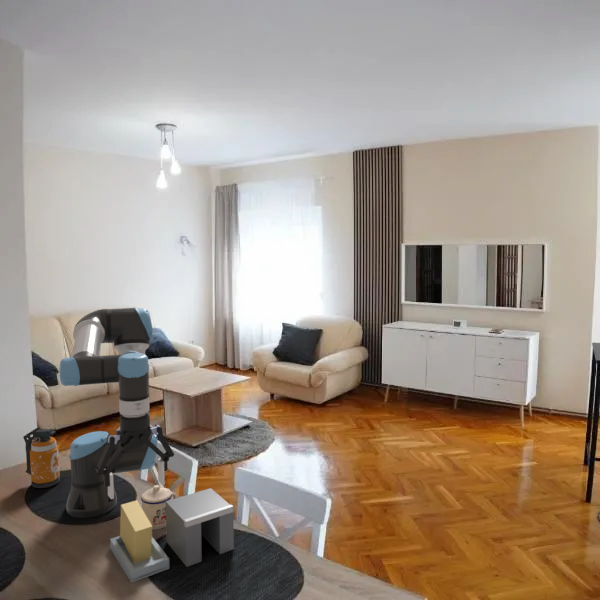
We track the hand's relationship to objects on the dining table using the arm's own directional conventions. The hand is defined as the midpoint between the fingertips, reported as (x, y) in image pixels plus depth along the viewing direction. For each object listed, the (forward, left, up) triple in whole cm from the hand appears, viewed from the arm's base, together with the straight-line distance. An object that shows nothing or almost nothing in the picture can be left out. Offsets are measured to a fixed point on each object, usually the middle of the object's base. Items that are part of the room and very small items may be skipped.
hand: (136, 489), depth 140 cm
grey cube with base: (+4, +16, -19) cm, 25 cm away
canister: (-62, -13, -20) cm, 66 cm away
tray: (0, 0, -19) cm, 19 cm away
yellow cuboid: (-3, 0, -17) cm, 18 cm away
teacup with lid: (-15, +12, -20) cm, 27 cm away
